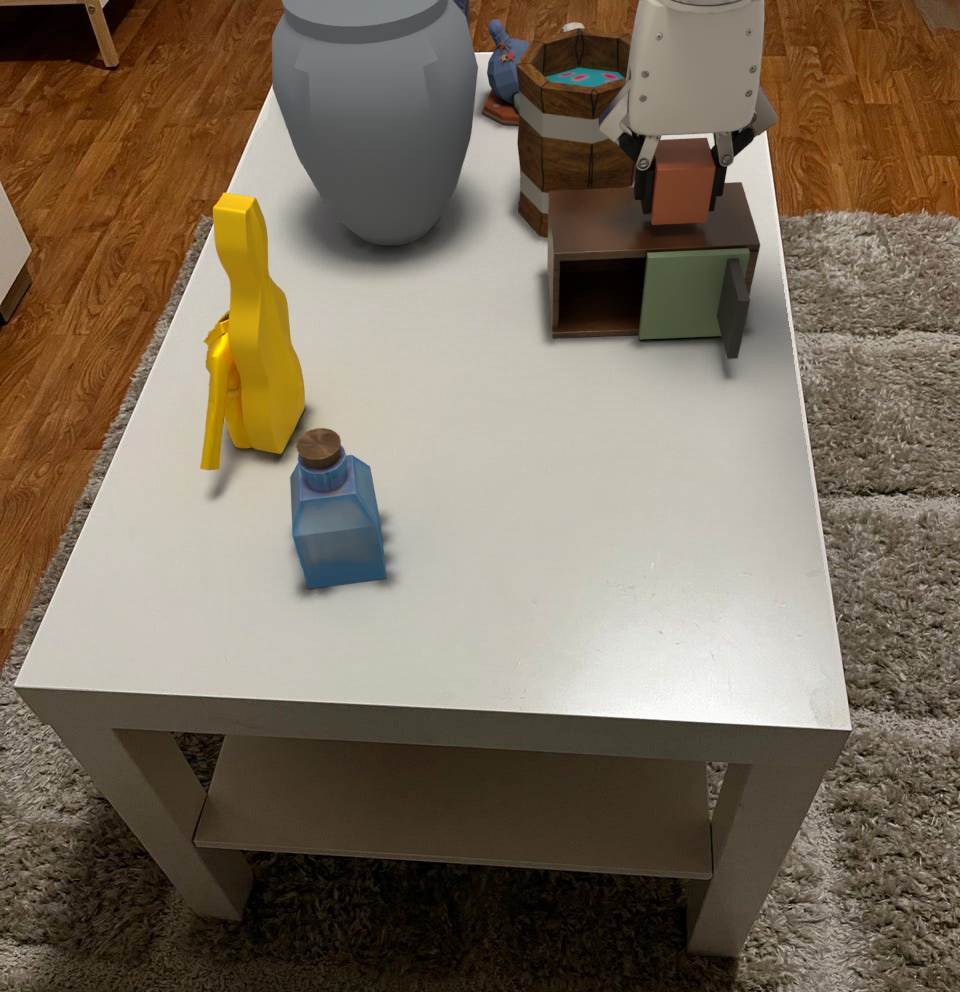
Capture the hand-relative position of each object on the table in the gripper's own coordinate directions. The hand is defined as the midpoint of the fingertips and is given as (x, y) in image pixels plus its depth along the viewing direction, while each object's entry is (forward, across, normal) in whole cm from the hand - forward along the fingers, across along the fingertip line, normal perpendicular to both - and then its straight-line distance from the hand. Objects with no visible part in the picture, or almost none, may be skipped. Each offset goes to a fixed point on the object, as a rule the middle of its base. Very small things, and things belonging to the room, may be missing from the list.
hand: (676, 202), depth 86 cm
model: (+11, +11, -40) cm, 43 cm away
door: (+10, -2, +8) cm, 13 cm away
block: (+1, 0, 0) cm, 1 cm away
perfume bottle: (+11, +29, +30) cm, 43 cm away
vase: (+11, +27, -16) cm, 33 cm away
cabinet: (+11, +2, -1) cm, 11 cm away
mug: (+11, +7, -21) cm, 25 cm away
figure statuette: (+11, +37, +15) cm, 41 cm away
